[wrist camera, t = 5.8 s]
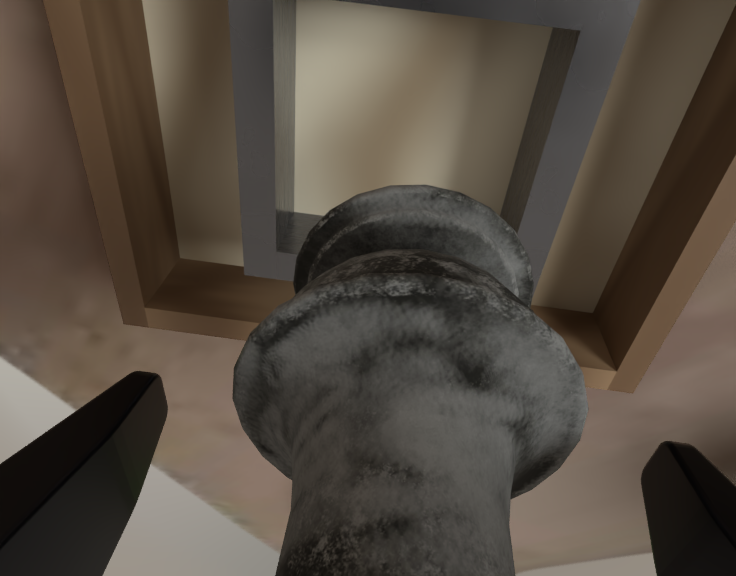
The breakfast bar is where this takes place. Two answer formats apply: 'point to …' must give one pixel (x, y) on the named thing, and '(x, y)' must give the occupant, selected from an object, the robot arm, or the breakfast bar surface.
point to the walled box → (405, 154)
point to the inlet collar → (536, 151)
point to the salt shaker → (408, 389)
